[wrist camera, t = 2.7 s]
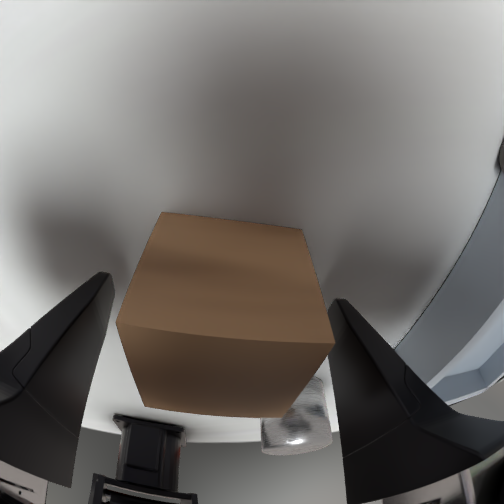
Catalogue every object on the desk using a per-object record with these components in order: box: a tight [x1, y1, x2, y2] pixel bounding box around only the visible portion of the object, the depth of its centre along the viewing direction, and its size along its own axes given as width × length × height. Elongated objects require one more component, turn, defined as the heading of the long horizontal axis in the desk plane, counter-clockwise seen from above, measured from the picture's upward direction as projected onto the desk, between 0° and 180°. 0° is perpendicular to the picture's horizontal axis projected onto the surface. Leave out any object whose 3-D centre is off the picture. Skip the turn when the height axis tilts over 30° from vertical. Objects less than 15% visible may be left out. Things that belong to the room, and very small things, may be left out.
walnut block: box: [116, 212, 335, 418], centre depth 8 cm, size 4×4×4 cm
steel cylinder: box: [260, 376, 333, 455], centre depth 14 cm, size 4×4×4 cm
